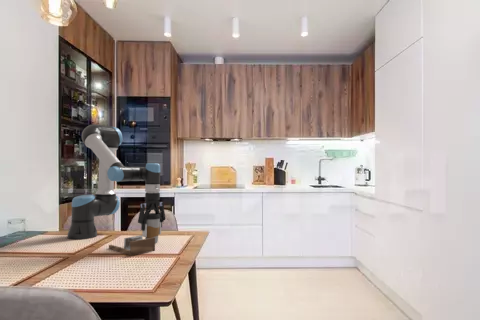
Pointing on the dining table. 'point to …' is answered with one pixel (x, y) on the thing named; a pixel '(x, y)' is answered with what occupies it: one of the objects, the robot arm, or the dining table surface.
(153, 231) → the coffee cup
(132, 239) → the pusher
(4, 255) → the dining table surface
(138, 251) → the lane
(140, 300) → the dining table surface
